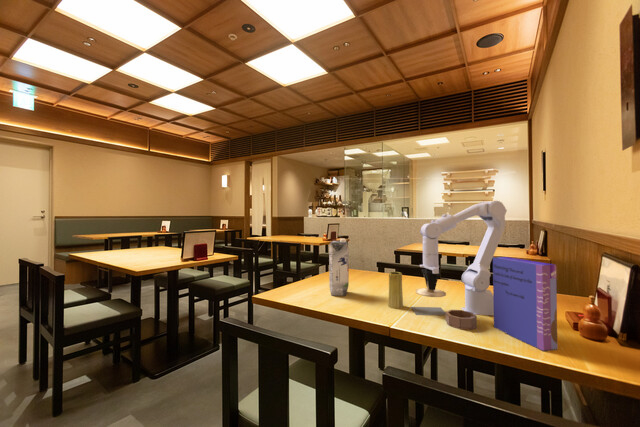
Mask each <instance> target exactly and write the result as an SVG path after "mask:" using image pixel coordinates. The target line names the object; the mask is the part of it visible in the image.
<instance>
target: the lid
mask: <svg viewBox="0 0 640 427" xmlns="http://www.w3.org/2000/svg"><path fill="white" fill-rule="evenodd" d="M415 293H416V294H417V295H419V296H424V297H429V298H443V297H445V296H447V292H446V291H444V290H441V289H438V288H435V290H429V288H428V281H427V286H426V287H423V288H417V289H415Z"/></svg>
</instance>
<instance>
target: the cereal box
mask: <svg viewBox="0 0 640 427" xmlns="http://www.w3.org/2000/svg"><path fill="white" fill-rule="evenodd" d="M492 284H493V285H492V287H493V288H492V290H493V292H492V294H493V305H494V316H493V327H494V328H495V329H497V330H499V331H501V332H503V333H504V334H505V335H508V336H510V338H511V337H512V338H514V339H516V340H517V341H520V342H522V343H525V344H527V345H529V346H531V347H534V348H535V349H537V350H539V351H542V352H550V351H551V352H552V351H558V350H559V348H558V304H557V301H558V298H557V294H558V293H557V264H554V263H546V262H542V261H541V262H540V261H534V260H533V261H532V260H528V259H521V258H516V257H509V256H493V258H492Z"/></svg>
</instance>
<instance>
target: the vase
mask: <svg viewBox="0 0 640 427" xmlns="http://www.w3.org/2000/svg"><path fill="white" fill-rule="evenodd" d="M403 296H404V295H403V273H402V272H399V271H389V272H388V304H387V306H388V308H390V309H394V310H399V309H400V310H401V309H403V308H404V297H403Z"/></svg>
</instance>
